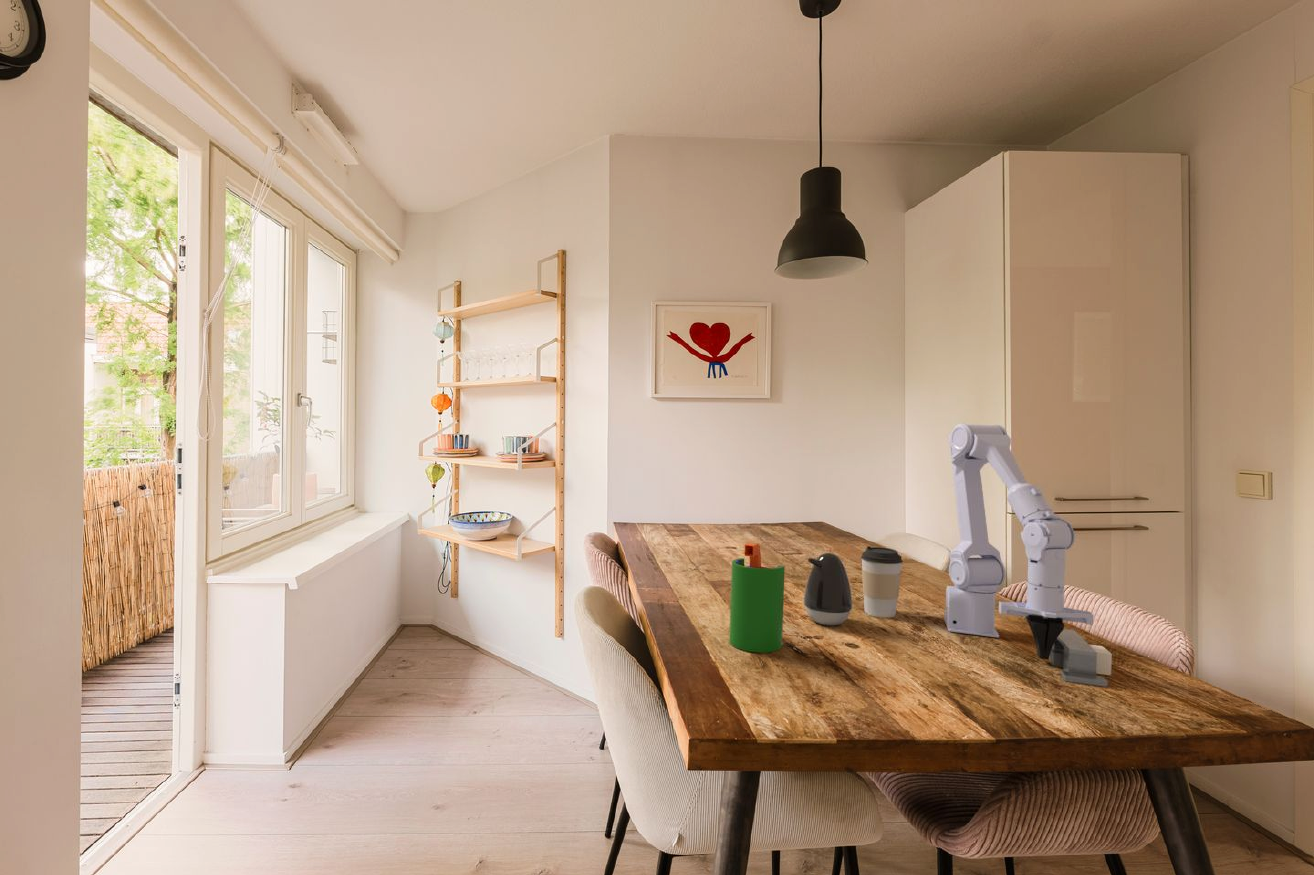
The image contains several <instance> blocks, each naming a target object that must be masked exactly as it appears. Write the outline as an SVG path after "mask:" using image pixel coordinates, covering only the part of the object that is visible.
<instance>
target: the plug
mask: <svg viewBox="0 0 1314 875" xmlns="http://www.w3.org/2000/svg"><path fill="white" fill-rule="evenodd" d="M1089 645H1090V646H1091V647H1092V648H1093V649H1094V650H1095V651H1096V652H1097V664H1096V675H1097V674H1098V675H1106V676H1112V664H1113V662H1112V660H1113V653H1111V651H1109V650H1108V649H1106V648H1105V647H1104V646H1103V645H1096V644H1089ZM1048 661H1049V663H1050V664H1051V665H1052V667H1057V668H1063V661H1064V650H1057V649H1051V652H1050V656H1049V659H1048Z"/></svg>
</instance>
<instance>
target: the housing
mask: <svg viewBox="0 0 1314 875" xmlns="http://www.w3.org/2000/svg"><path fill="white" fill-rule="evenodd" d="M1090 645H1091V644H1089V643H1088V642H1087V641H1085V639H1084V638H1083V637H1082V636H1081V635H1080V634H1079V633H1078V632H1077V631H1076V630H1074V629H1067V628H1066V629H1065V628H1064V629H1063V631H1062V632H1061V633H1060V635H1059V636H1058V638H1057V639H1056V641H1055V643H1054V645H1053V647H1052V649H1057V650H1064V661H1063V667H1062V668H1063V669H1062V670H1061V678H1062V679H1063V681H1064V682H1070V683H1076V684H1082V685H1084V684H1085V685H1090V686H1095V687H1103V688H1108V680H1107V679H1106V678H1105V677H1104V676H1103V675H1102V676H1099V675H1097V674H1096V664H1097V652H1096V651H1095V650H1094V649H1093V648H1092V647H1091V646H1090Z"/></svg>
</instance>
